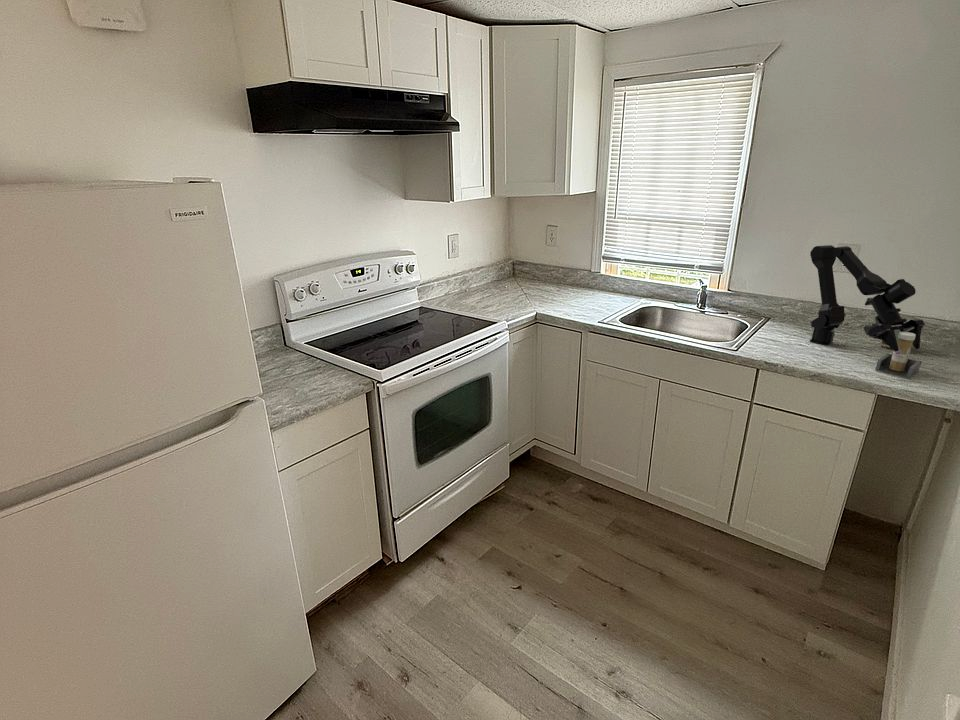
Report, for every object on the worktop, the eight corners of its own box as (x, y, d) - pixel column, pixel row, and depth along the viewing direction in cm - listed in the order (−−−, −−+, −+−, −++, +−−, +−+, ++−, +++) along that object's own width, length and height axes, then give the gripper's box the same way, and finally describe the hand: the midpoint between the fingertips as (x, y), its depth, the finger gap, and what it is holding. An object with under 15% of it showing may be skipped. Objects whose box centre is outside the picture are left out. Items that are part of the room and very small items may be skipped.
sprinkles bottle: (885, 368, 183) (896, 332, 178) (892, 366, 185) (903, 330, 180) (900, 372, 179) (912, 336, 174) (907, 370, 181) (918, 333, 176)
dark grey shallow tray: (874, 370, 183) (878, 360, 181) (884, 363, 188) (887, 353, 187) (909, 379, 175) (913, 368, 174) (918, 371, 181) (921, 361, 180)
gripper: (886, 318, 193) (907, 356, 187) (846, 323, 188) (866, 362, 183) (914, 303, 183) (937, 343, 177) (872, 308, 178) (894, 348, 173)
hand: (907, 349), depth 177 cm, fingers open, 9 cm apart
